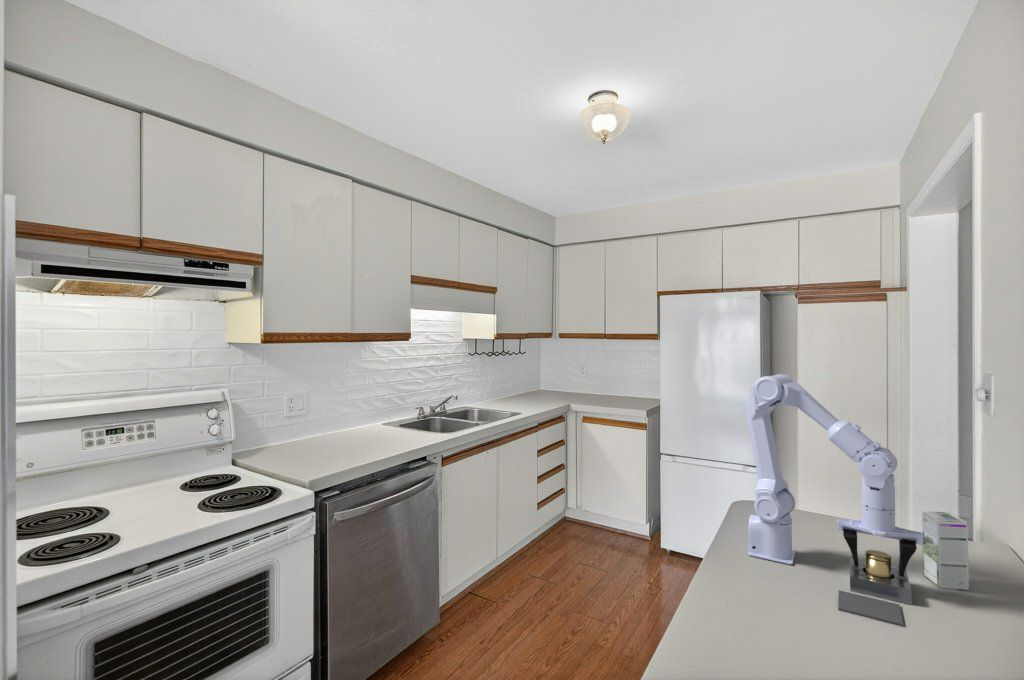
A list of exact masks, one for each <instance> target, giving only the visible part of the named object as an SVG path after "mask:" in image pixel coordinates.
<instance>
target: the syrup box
mask: <svg viewBox="0 0 1024 680" xmlns="http://www.w3.org/2000/svg"><path fill="white" fill-rule="evenodd" d="M921 516H922V518H921V523H922V524H921V525H922V530H921V531H922V532H921V533H922V535H923V545H922V572H923V573H922V575H923V577H925V578H926V579H928V580H929V581H930V582H931V583H933V584H934V585H935V586H937V588H939V589H940V588H941V589H947V590H948V589H949V590H958V589H963V591H970V577H969V576H970V574H969V569H970V568H969V526H968V522H967V521H966V520H964V519H961V518H960V517H958V516H956V515H954V514H952V513H950V512H945V511H921Z"/></svg>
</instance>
